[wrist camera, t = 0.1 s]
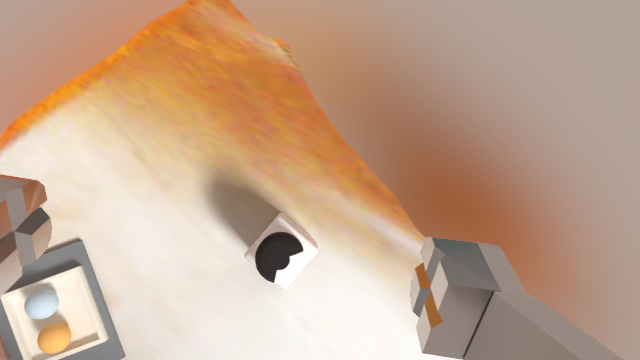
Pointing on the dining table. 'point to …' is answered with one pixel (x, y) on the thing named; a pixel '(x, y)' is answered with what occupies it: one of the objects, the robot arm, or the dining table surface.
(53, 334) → the orange ball
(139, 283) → the dining table surface
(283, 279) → the medicine bottle
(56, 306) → the blue ball
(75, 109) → the dining table surface
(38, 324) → the cream tray
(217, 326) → the dining table surface
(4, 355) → the terracotta tray
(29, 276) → the slate mat
